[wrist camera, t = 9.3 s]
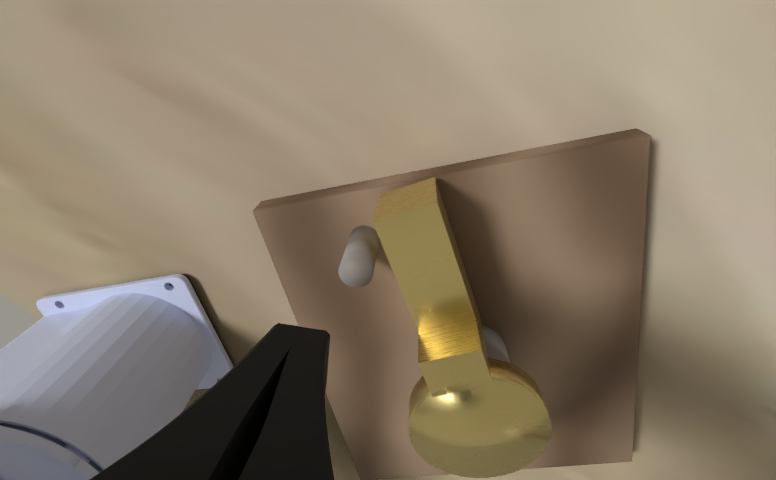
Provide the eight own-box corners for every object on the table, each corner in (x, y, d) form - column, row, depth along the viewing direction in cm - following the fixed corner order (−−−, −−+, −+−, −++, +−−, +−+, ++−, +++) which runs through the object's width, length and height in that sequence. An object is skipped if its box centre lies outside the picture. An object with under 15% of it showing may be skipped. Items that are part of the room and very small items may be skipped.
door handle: (537, 385, 22) (563, 466, 18) (430, 406, 24) (432, 485, 19) (476, 163, 17) (493, 207, 13) (342, 206, 18) (319, 258, 14)
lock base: (363, 463, 29) (353, 532, 25) (261, 201, 20) (222, 243, 16) (623, 443, 26) (658, 517, 22) (636, 128, 17) (698, 158, 13)
